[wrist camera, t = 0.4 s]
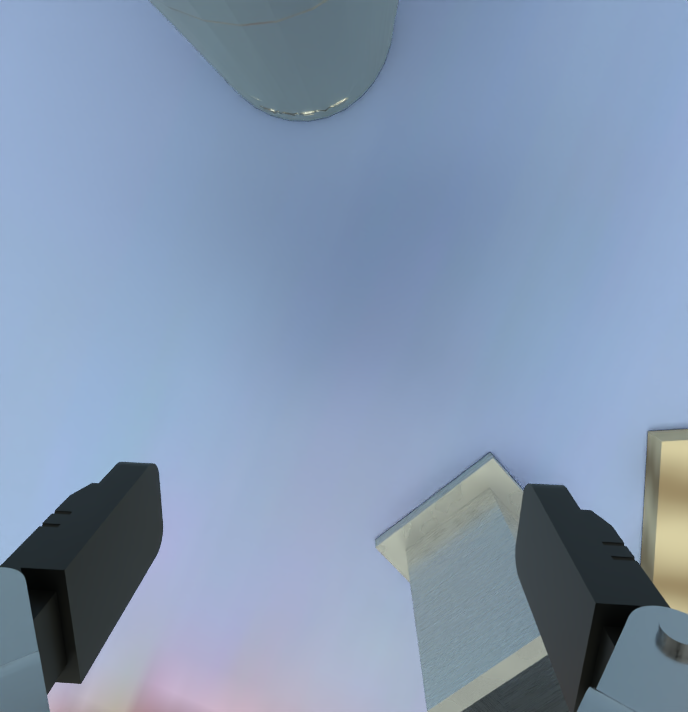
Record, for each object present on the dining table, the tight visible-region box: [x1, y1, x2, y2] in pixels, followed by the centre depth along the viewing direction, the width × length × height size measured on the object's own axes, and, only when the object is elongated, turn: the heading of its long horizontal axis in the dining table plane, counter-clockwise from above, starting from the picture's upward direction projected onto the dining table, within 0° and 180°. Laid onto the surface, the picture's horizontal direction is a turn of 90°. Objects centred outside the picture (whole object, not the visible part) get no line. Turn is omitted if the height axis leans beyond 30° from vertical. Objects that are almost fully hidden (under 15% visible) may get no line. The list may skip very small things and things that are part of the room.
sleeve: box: [375, 453, 570, 712], centre depth 28 cm, size 9×9×12 cm
